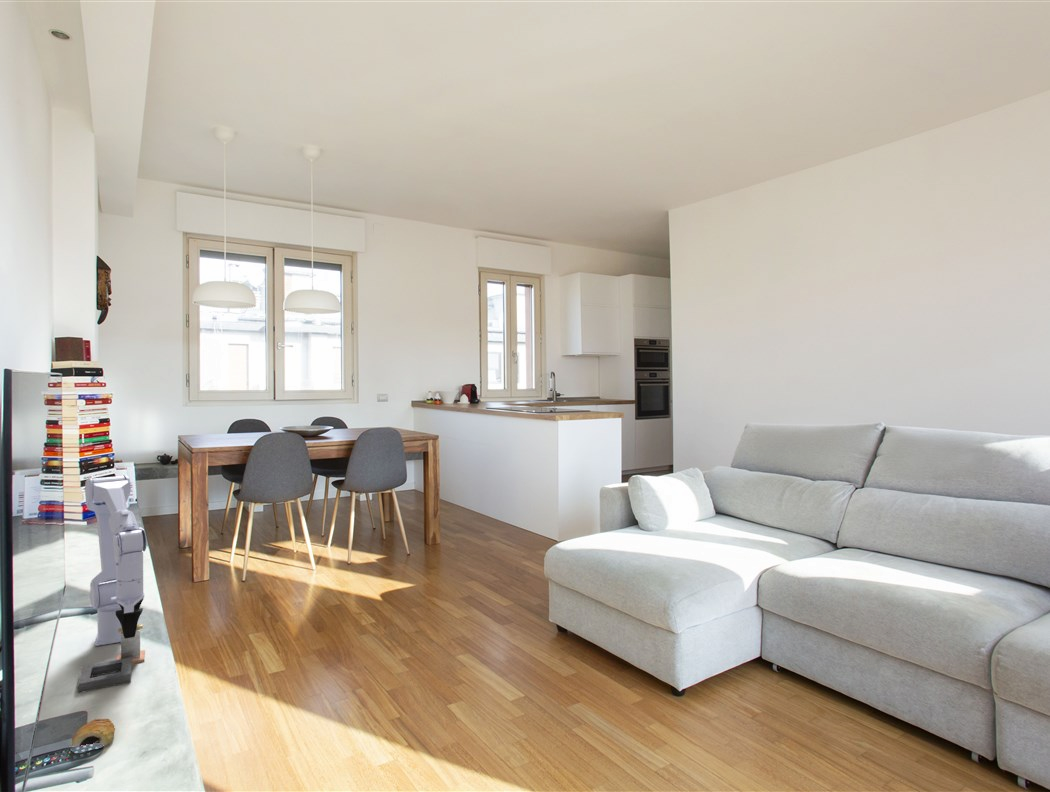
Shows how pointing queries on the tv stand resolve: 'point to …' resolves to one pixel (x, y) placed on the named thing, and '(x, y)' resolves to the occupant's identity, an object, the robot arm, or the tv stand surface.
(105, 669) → the charcoal socket
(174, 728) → the tv stand surface
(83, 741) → the pastry
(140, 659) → the terracotta pad
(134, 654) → the steel key
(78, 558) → the tv stand surface
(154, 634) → the tv stand surface
